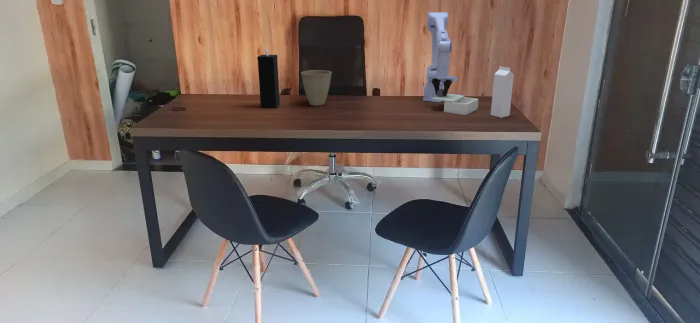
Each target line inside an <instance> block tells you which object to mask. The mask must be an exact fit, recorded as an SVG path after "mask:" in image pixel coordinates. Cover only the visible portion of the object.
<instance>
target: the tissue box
mask: <svg viewBox="0 0 700 323" xmlns="http://www.w3.org/2000/svg"><path fill="white" fill-rule="evenodd" d="M265 52H266V54H260V55H258V56H257V57H256V59H257V70H258V83H259V97H260V98H259V99H260V102H259V103H260V108H261V109H277V108H278V107H279V106H280V104H281V103H280V102H281V100H280V84H279V65H278V64H279V63H278V54H269V48H266V49H265Z"/></svg>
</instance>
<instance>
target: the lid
mask: <svg viewBox="0 0 700 323" xmlns="http://www.w3.org/2000/svg"><path fill="white" fill-rule="evenodd" d="M465 96H466V95H461V94H460V95H459V94H454V93H453V94H452V93H447V95H446V96H444V88H443V89H440V90H437V96H435V97H433V98H431V100H439V101H442V102H445V101H446V102H454V101H457V100H459V99H461V98H463V97H465Z"/></svg>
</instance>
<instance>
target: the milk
mask: <svg viewBox="0 0 700 323" xmlns="http://www.w3.org/2000/svg"><path fill="white" fill-rule="evenodd" d="M513 85H514V73H513V72H512V71H511V67H506V66H501V65H499V66H498V70H497V71H496V72H495V73H494V76H493V86H492V97H491V107H490V108H491V109H490V116H493V117H496V118H501V119H502V118H505V117H509V116H510V115H511V103H512V95H513V94H512V93H513Z"/></svg>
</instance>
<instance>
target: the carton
mask: <svg viewBox="0 0 700 323" xmlns="http://www.w3.org/2000/svg"><path fill="white" fill-rule="evenodd" d="M443 102H444V103H443V104H444V106H443V112H444V113H447V114H448V113H449V114H456V115H461V116H462V115H463V116H468V115H469V114H472V113H473V112H474V111H477V110H479V108H478V107H479V98H473V97H463V98H461V99H459V100H457V101H454V102H446V101H443Z"/></svg>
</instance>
